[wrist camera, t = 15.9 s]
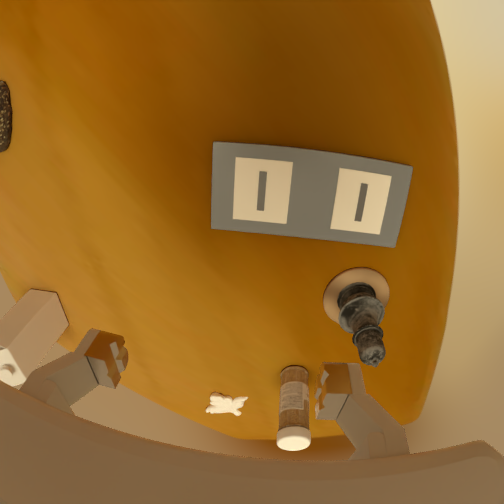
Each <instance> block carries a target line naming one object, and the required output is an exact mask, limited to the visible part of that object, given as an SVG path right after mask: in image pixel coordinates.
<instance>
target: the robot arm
mask: <svg viewBox="0 0 504 504" xmlns="http://www.w3.org/2000/svg"><path fill="white" fill-rule="evenodd" d="M124 343H125V341H124V338H123V336H121V335H117V334H113V333H109V332H105V331H101V330H97V329H93V328H92V329H90V330H89V331H88V332H87V334H86V335H85V337H84V338H83V340H82V341H81V343H80V344H79V345H78V347H77V348H76V350H75V351H74V352H70V353H68V354H66V355H64V356H62V357H60V358H58V359H56V360H54V361H52V362H50V363H48V364H46V365H44V366H42V367H40V368H38V369H36V370H34V371H32V372H31V373H30V375H29V376H28V378H27V379H26V381H25V382H24V384H23V385H22V387H21V388H20V390H18V389H16V388H14V387H12V386H10V385H8V384H6V383H4V382H3V381H1V380H0V504H504V456H503V455H502V454H501V453H500V452H498V451H497V450H496V449H495V448H494V447H492V446H491V445H490V444H488V443H487V442H485V441H483V440H477V441H472V442H468V443H464V444H460V445H456V446H451V447H447V448H442V449H437V450H432V451H426V452H420V453H414V454H410V452H409V447H408V443H407V438H406V434H405V429H404V428H403V427H402V426H401V425H400V424H399V423H398V422H397V421H396V420H395V419H394V418H393V417H392V416H391V415H390V414H389V413H388V412H387V411H386V410H385V409H383V408H382V407H381V406H380V405H379V404H378V403H377V402H376V401H375V400H374V399H373V398H372V397H371V396H370V395H369V394H366V392H365V387H364V382H363V377H362V373H361V368H360V365H359V363H331V362H322V364H321V366H320V374H319V375H317V378H316V382H315V398H316V399H317V402H316V405H315V412H316V419H324V420H336V422H337V423H338V424H339V426H340V427H341V429H342V430H343V431H344V433H345V434H346V436H347V437H348V438H349V440H350V441H351V442H352V444H353V445H354V447H355V448H356V449H357V450H356V451H355V452H354V454H353V455H352V456H351V457H350V459H349V460H336V461H299V460H277V459H263V458H252V457H243V456H234V455H227V454H220V453H213V452H207V451H201V450H195V449H190V448H185V447H180V446H175V445H171V444H166V443H162V442H158V441H154V440H150V439H145V438H142V437H138V436H135V435H131V434H128V433H124V432H121V431H118V430H115V429H112V428H109V427H106V426H102V425H100V424H97V423H94V422H91V421H88V420H86V419H83V418H80V417H78V416H75V414H74V412H73V411H72V409H71V408H70V406H71V405H73V404H74V403H75V402H77V401H78V400H79V399H80V398H82V397H83V396H85V395H86V394H87V393H89V392H90V391H91V390H93V389H94V388H96V387H97V386H98V384H99V385H102V386H106V387H110V388H114V389H115V388H116V386H117V384H118V382H119V380H120V378H121V376H120V373H121V372H122V371H124V370H125V368H126V366H127V363H128V351H127V349H126V348H125V347H124V346H123V345H124Z"/></svg>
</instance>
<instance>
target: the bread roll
mask: <svg viewBox="0 0 504 504" xmlns="http://www.w3.org/2000/svg"><path fill="white" fill-rule="evenodd" d="M11 122H12V108H11V105H10V96H9V89H8V86H7V85H6V83H4V82H3V81H0V152H2V151H4V150H6V149H7V148H8V146H9V143H10V135H11V130H12V127H11Z"/></svg>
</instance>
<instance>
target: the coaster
mask: <svg viewBox="0 0 504 504" xmlns="http://www.w3.org/2000/svg"><path fill="white" fill-rule="evenodd" d="M356 282H364V283H367V284H369V285H371V286H372V287H373V288H374V290H375V293H376V298H377V299H378V300H380V301H381V303H382V304H383V306H384V308H385V307H386V305H387V303H388V299H389V287H388V284H387V282H386V280H385V278H384V277H383V276H382V275H381V274H380V273H379V272H377V271H375V270H373V269H370V268H365V267H357V268H351V269H348V270H345V271H343V272H341V273H340V274H338V275H337V276H335V277H334V278H333V279H332V280H331V281H330V282H329V284H328V285H327V287H326V289H325V292H324V296H323V304H324V309H325V311H326V313H327V315H328V316H329V317H330V318H331V319H332V320H333V321H335V322H337V323H339V320H338V317H339V312H340V309H339V307H338V304H337V298H338V295H339V293H340V292H341V291H342V289H343V288H345V287H346V286H347V285H350V284H352V283H356Z"/></svg>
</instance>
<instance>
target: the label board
mask: <svg viewBox="0 0 504 504" xmlns="http://www.w3.org/2000/svg"><path fill="white" fill-rule="evenodd" d="M412 171H413V167H412V166H410V165H406V164H401V163H396V162H391V161H385V160H380V159H374V158H369V157H363V156H357V155H350V154H344V153H337V152H330V151H322V150H315V149H306V148H298V147H288V146H278V145H267V144H254V143H239V142H221V141H214V142H213V160H212V201H211V229H220V230H231V231H242V232H253V233H263V234H273V235H283V236H293V237H303V238H312V239H322V240H331V241H341V242H350V243H359V244H367V245H376V246H385V247H393V248H395V245H396V241H397V238H398V234H399V230H400V226H401V222H402V218H403V213H404V209H405V205H406V200H407V196H408V191H409V186H410V181H411V176H412Z"/></svg>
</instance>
